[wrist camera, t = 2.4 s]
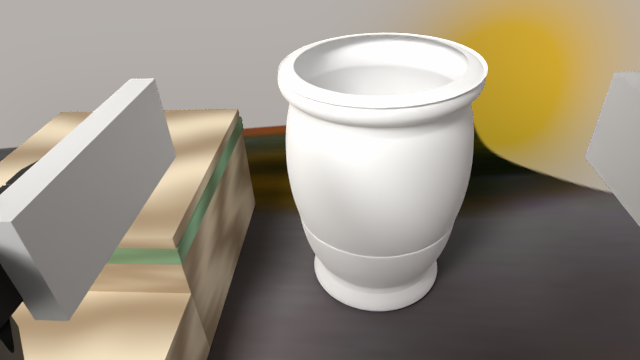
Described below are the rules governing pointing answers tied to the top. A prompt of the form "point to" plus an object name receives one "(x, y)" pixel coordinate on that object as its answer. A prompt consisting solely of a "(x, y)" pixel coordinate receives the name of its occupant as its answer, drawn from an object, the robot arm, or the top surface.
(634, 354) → the top surface
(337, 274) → the jar
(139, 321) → the step stand
